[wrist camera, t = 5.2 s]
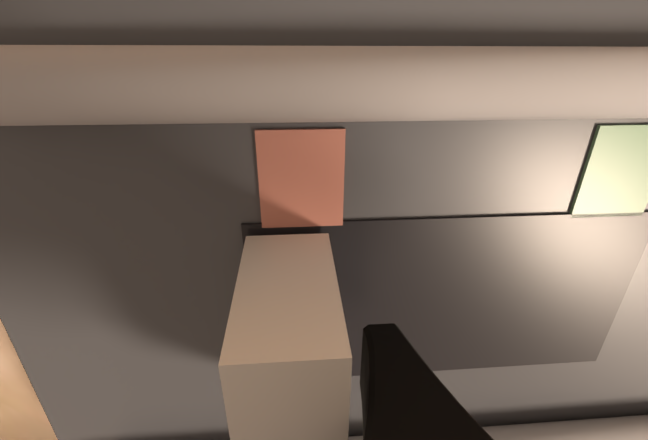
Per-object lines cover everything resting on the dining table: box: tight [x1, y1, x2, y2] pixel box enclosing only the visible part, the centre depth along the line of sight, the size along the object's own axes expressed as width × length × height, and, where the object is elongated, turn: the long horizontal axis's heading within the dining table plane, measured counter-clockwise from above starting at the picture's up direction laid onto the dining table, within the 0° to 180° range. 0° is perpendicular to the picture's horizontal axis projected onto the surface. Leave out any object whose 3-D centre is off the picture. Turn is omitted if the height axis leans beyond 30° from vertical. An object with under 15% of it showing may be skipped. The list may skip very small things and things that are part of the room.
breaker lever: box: [218, 233, 352, 440], centre depth 9 cm, size 5×2×4 cm, turn 0°
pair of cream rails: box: [0, 45, 648, 440], centre depth 10 cm, size 13×21×1 cm, turn 90°
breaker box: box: [0, 0, 648, 440], centre depth 12 cm, size 16×24×3 cm, turn 90°
